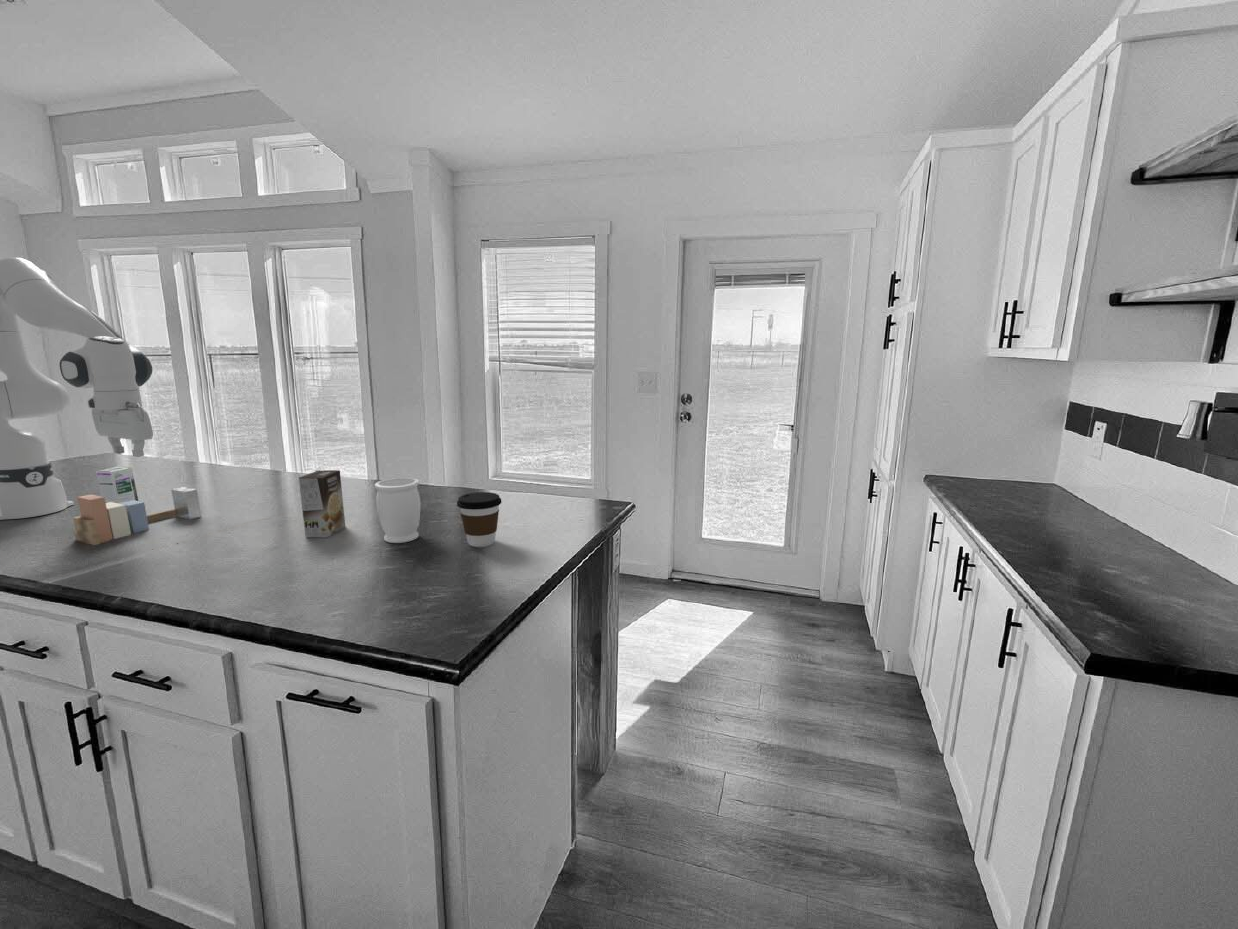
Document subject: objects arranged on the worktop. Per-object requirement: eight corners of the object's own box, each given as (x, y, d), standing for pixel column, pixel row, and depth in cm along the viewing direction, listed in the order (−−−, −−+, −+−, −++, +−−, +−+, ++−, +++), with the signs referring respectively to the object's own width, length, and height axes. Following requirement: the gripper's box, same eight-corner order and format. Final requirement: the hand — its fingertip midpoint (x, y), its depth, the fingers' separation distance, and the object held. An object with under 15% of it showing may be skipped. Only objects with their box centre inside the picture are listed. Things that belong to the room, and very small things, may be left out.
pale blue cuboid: (123, 530, 152) (118, 503, 150) (138, 526, 155) (133, 500, 153) (134, 533, 149) (128, 505, 148) (149, 529, 152) (144, 502, 151)
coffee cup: (450, 547, 142) (447, 500, 139) (475, 533, 152) (473, 489, 149) (488, 553, 138) (485, 505, 135) (511, 538, 148) (509, 493, 145)
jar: (431, 535, 151) (427, 479, 148) (401, 547, 142) (396, 489, 138) (401, 529, 155) (396, 475, 152) (370, 541, 146) (365, 484, 143)
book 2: (99, 535, 148) (93, 505, 146) (116, 531, 151) (110, 501, 149) (114, 539, 145) (108, 508, 143) (131, 534, 148) (125, 505, 146)
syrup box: (121, 520, 163) (112, 471, 160) (105, 519, 164) (95, 470, 161) (141, 515, 168) (132, 466, 165) (125, 513, 170) (116, 466, 167)
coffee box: (328, 538, 149) (322, 477, 145) (304, 537, 149) (297, 477, 145) (346, 526, 158) (340, 469, 154) (323, 526, 158) (317, 469, 154)
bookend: (176, 516, 163) (171, 489, 161) (187, 513, 166) (183, 487, 164) (189, 519, 160) (185, 491, 159) (201, 516, 163) (196, 489, 161)
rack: (76, 543, 145) (70, 517, 143) (185, 516, 167) (181, 493, 165) (95, 548, 141) (89, 521, 140) (203, 520, 163) (199, 496, 162)
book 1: (86, 538, 145) (77, 497, 143) (99, 535, 148) (91, 494, 145) (99, 542, 142) (90, 500, 140) (112, 539, 145) (104, 497, 143)
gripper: (155, 402, 144) (165, 456, 147) (113, 398, 153) (123, 449, 156) (125, 404, 139) (136, 460, 142) (83, 401, 147) (94, 453, 150)
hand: (128, 454), depth 149 cm, fingers open, 8 cm apart
